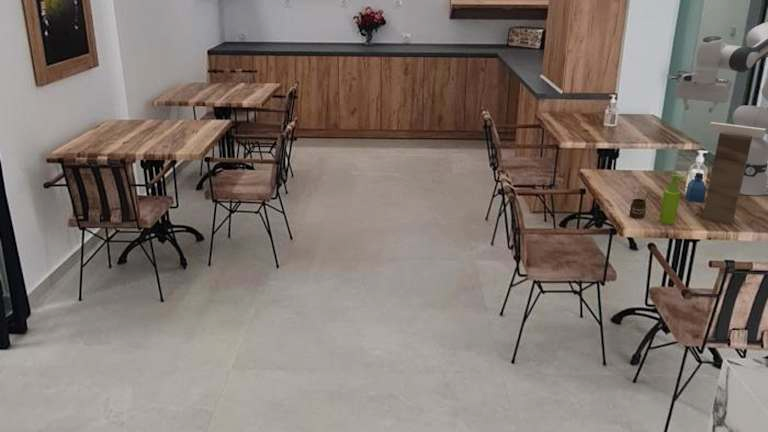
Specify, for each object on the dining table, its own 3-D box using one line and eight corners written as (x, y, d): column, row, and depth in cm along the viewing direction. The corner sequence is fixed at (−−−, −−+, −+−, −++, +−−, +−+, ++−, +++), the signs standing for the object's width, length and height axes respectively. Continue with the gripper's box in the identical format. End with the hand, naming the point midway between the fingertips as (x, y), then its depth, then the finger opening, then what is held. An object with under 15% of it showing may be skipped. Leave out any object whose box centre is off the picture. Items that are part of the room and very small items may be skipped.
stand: (705, 212, 278) (722, 129, 264) (734, 218, 272) (753, 133, 259) (702, 219, 271) (719, 133, 257) (731, 224, 265) (750, 137, 252)
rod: (709, 129, 264) (711, 121, 263) (764, 136, 254) (766, 128, 253) (708, 130, 262) (710, 123, 261) (763, 137, 252) (765, 130, 251)
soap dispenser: (674, 226, 263) (683, 178, 256) (656, 221, 267) (665, 174, 260) (679, 221, 267) (688, 175, 260) (661, 217, 271) (670, 171, 264)
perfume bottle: (703, 202, 290) (708, 176, 286) (688, 201, 291) (693, 175, 287) (700, 197, 296) (705, 172, 291) (685, 196, 297) (690, 171, 292)
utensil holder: (628, 213, 276) (632, 186, 272) (643, 214, 275) (648, 187, 270) (630, 218, 270) (634, 190, 266) (646, 219, 269) (651, 192, 265)
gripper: (733, 79, 266) (727, 112, 271) (680, 74, 276) (674, 106, 281) (731, 81, 261) (724, 115, 266) (677, 76, 271) (671, 109, 276)
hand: (698, 111), depth 273 cm, fingers open, 8 cm apart
